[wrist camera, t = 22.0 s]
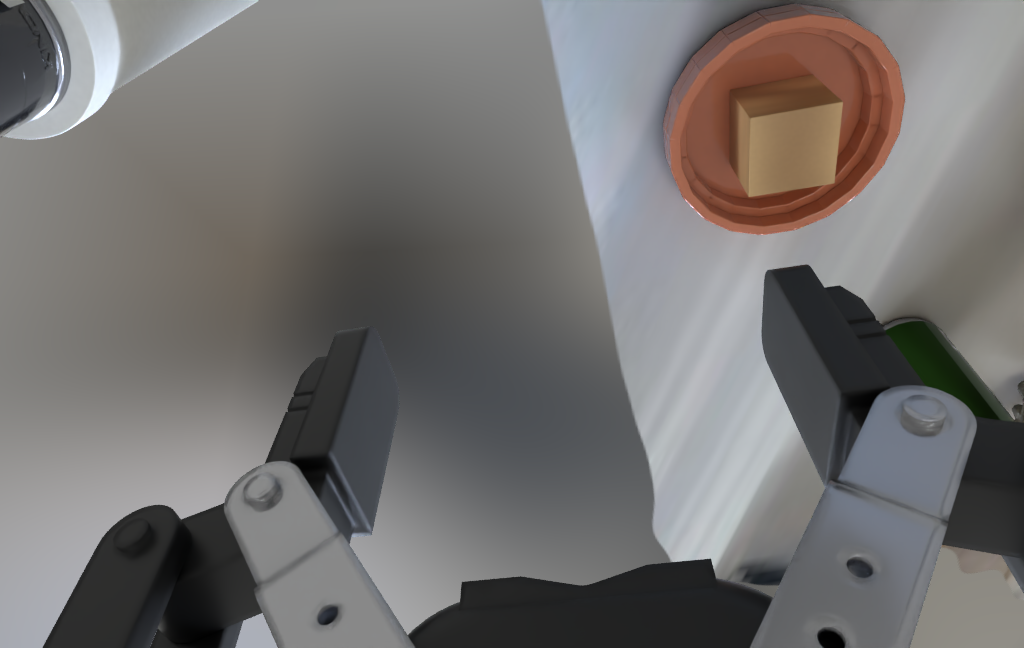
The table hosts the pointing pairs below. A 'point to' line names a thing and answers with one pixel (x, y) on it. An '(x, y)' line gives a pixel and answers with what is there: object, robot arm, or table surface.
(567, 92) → the table surface
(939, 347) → the beer can
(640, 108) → the table surface
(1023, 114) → the table surface
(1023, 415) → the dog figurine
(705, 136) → the plate
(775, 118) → the block
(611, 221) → the table surface
